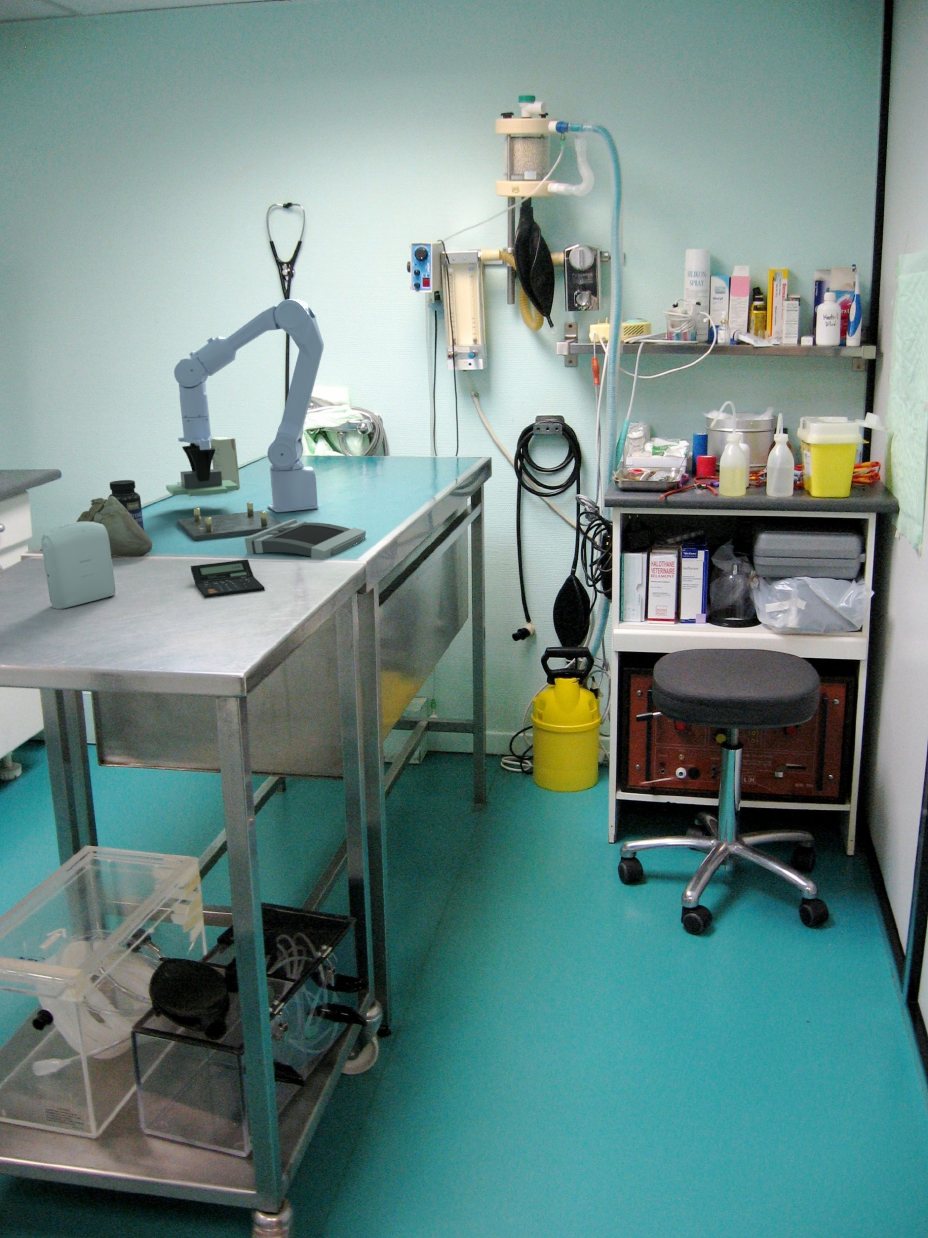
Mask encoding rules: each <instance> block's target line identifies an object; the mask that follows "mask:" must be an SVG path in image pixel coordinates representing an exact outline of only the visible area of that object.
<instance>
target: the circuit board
mask: <svg viewBox="0 0 928 1238" xmlns="http://www.w3.org/2000/svg"><path fill="white" fill-rule="evenodd" d="M165 489H166V491H167V492H168V493H170V494H171V495H172V496H180V495H181V496H183V495H187V496H189V497H198V496H199V497H200V496H209V495H210V496H211V495H220V494H221V495H223V494H228V493H229V492H230V491H239V488H238V485H237V484H235V483H234V482H232V481H230V480H224V481H222V476H221V471H220V470H218V469H213V468H211V469H210V478H209V481H199V480H198V477H197V474H196V471H192V470H187V471H186V470H185V471H180V481H178V482H177V484H167V485H165Z"/></svg>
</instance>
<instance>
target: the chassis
mask: <svg viewBox="0 0 928 1238" xmlns="http://www.w3.org/2000/svg"><path fill="white" fill-rule="evenodd" d="M253 505H254V504H253V502H246V510H247V511H245V512H234V513H226V514H217V515H216V514H215V515H208V516H207V515H206V516H205V515H204V516H201V509H200V507H194V508H193V516H194V517H188V518H177V525H178V526H179V527H180V528H181V529H182V530H183V531H185V533H186V534H188V535H189V537H190V538H191V539H193V541H194V542H198V541H206V540H216V539H223V538H224V539H225V538H233V537H241V536H242V537H243V536H251V535H254V534H256V533H259V532H261V531H264V530H266V529H269V528H271V527H274V526H276V525H279V524H281V523H282V522H281V521H280V520H278V519H276V518H275V517H274V516H272V515H271V514H269V513H267V511H264V510H262V509H261V510H256V511H254V506H253Z"/></svg>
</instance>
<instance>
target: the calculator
mask: <svg viewBox="0 0 928 1238" xmlns="http://www.w3.org/2000/svg"><path fill="white" fill-rule="evenodd" d="M251 567H252V566H251V565H250V562H249V559H248V558H247V559H239V560H230V561H222V562H213V563H204V564H198V565H197V564H196V565H190V571H191V574H192V577H193V580H194V583H195V584H194V585H195V587H196V588H197V589H198V591H199V592H200V594H201V595H202V596H203V597H204V599H210V598H217V597H225V596H226V597H227V596H233V595H243V594H248V593H255V592H257V593H258V592H263V591H264V592H265V589H266V588H265V586H264V585H263V584H262V583H261V581H259V580H258V579H257V578H256V577H255V576H254V573H253V570H252V568H251Z"/></svg>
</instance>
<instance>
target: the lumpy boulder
mask: <svg viewBox="0 0 928 1238" xmlns="http://www.w3.org/2000/svg"><path fill="white" fill-rule="evenodd" d="M90 502H91V503H90V507H89V508H88V510H85V511H83V512H81V514H80V516H79V517H78V518H77V520H76V521H75V522H95V523H99V524H103V525H104V526H105V528H106V530H107V533H108V537H109V544H110V551H111V557H119V556H121V557H140V556H144V555H147V554H148V553H150V551H152V549H153V542H152V540H151V538H149V537H150V536H148V535H147V533H146V532H145V530H144V531H143V529H142V528H141V527H140V526H139V524H138V523H137V522H136V521H135V520H134V518H133V517H132V516H131V515H130V513H129V512H128V511H127V510H126V508H125V507H124V506H123V505H122V504H121V503H120V502H119V501H118V500H117V499H116V498H115V497H113V496H110V497H109V496H107V499H105V498H103V497H97V498H94V499H91V500H90Z"/></svg>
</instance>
